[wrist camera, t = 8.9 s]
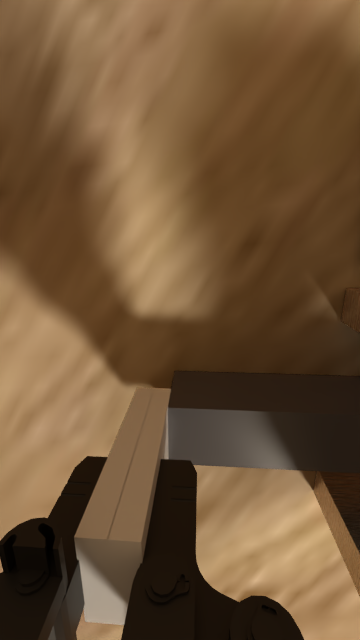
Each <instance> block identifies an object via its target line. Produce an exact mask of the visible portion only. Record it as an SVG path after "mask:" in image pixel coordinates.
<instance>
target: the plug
mask: <svg viewBox="0 0 360 640" xmlns="http://www.w3.org/2000/svg"><path fill="white" fill-rule="evenodd" d="M168 456H169V459H173V460H191V462H192V464H193V465H206V466H226V467H245V468H265V469H285V470H305V471H324V472H344V473H360V376H332V375H297V374H263V373H229V372H195V371H175V372H174V377H173V382H172V388H171V394H170V399H169V404H168Z"/></svg>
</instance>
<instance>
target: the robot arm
mask: <svg viewBox="0 0 360 640" xmlns="http://www.w3.org/2000/svg"><path fill="white" fill-rule="evenodd" d="M170 394H171V389H169V388H140V387H137V389H136V391H135V393H134V396H133V398H132V401H131V403H130V405H129V408H128V410H127V412H126V415H125V417H124V420H123V422H122V424H121V427H120V429H119V432H118V434H117V436H116V439H115V441H114V443H113V446H112V448H111V451H110V453H109V455H108V457H93V456H87V457H86V458H85V459H84V460H83V461H82V462H81V463H79V464H78V465H77V466H76V467H75V469H74V470H73V472H72V474H71V476H70V478H69V480H68V483H67V484H66V485H65V487H64V489H63V491H62V493H61V496H59V498H58V500H57V502H56V504H55V506H54V507H53V509H52V511H51V513H50V515H49V517H48V518H35V519H30V520H28V521H26V522H23V523H21V524H19V525H17V526H16V527H15V528H13V529H12V530H11V531H9V532H8V533H7V534H6V535H5V536H4V537H3V538H2V540H1V541H0V559H1V563H2V567H3V572H2V573H0V640H77V637H76V630H77V627H78V624H79V621H80V617H81V614H82V611H83V608H84V615H85V622H95V623H106V624H117V625H124V628H123V633H122V638H121V640H304V638H303V636H302V634H301V632H300V629H299V628H298V626H297V624H296V623H295V621H294V619H293V618H292V616H291V614H290V613H289V612H288V611H287V610H286V609H284V608H283V607H282V606H281V605H280V604H279V603H278V602H276V601H274V600H272V599H270V598H268V597H266V596H250V597H248V598H246V599H244V600H242V601H241V602H240V603H239V602H237V601H235V600H233V599H231V598H229V597H227V596H225V595H223V594H221V593H220V592H218V591H217V590H215V589H213V588H212V587H211V586H210V585H209V584H208V583H207V582H206V581H205V579H204V578H203V576H202V574H201V573H200V571H199V568H198V565H197V562H196V496H197V472H196V470H195V468H194V466H193V464H192V462H191V460H173V459H169V456H168V404H169V399H170Z"/></svg>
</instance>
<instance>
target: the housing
mask: <svg viewBox="0 0 360 640" xmlns="http://www.w3.org/2000/svg"><path fill="white" fill-rule="evenodd" d="M341 322H343V323H344V324H346V325H348V326H349V327H351V328H352V329H354V330H356V331H357V332H359V333H360V288H346V293H345V300H344V306H343V312H342V318H341ZM314 494H315V496H316V498H317V500H318V503H319V505H320V507H321V510H322V512H323V514H324V516H325V519H326V521H327V523H328V525H329V528H330V530H331V532H332V535H333V537H334V539H335V541H336V544H337V546H338V548H339V551H340V553H341V555H342V557H343V560H344V562H345V564H346V566H347V569H348V571H349V573H350V576H351V578H352V580H353V582H354V585H355V587H356V589H357V592H358V594H359V596H360V473H344V472H324V471H317V473H316V479H315V485H314Z"/></svg>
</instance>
